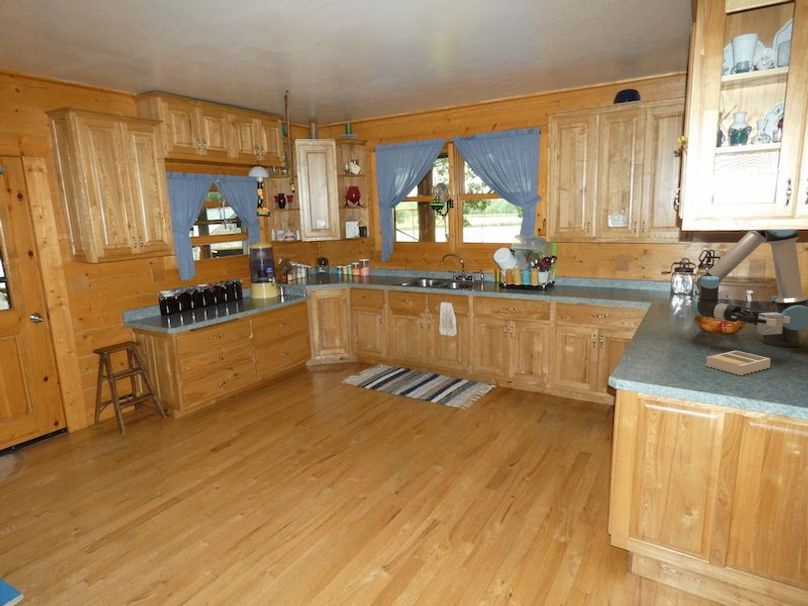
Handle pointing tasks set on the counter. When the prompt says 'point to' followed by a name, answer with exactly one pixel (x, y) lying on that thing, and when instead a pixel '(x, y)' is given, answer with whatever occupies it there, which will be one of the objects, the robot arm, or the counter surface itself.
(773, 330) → the medicine box
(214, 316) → the counter surface
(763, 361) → the board
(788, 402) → the counter surface
